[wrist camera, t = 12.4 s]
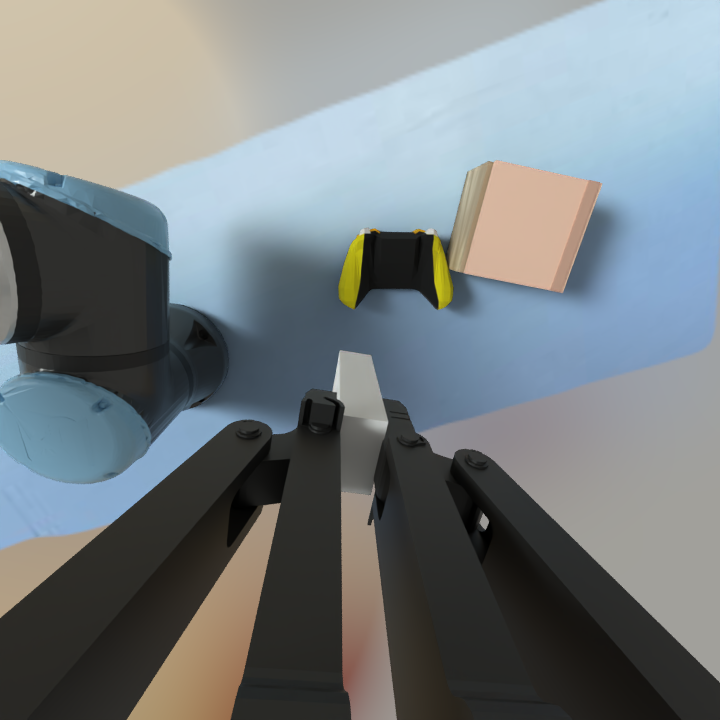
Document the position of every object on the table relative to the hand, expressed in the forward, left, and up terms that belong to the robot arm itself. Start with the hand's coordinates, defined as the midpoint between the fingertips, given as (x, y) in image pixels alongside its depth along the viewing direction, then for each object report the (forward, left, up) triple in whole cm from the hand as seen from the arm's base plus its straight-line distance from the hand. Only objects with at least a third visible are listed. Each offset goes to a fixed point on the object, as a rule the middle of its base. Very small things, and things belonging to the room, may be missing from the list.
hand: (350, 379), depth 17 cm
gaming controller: (+6, +4, -35) cm, 36 cm away
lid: (+19, +11, -27) cm, 35 cm away
